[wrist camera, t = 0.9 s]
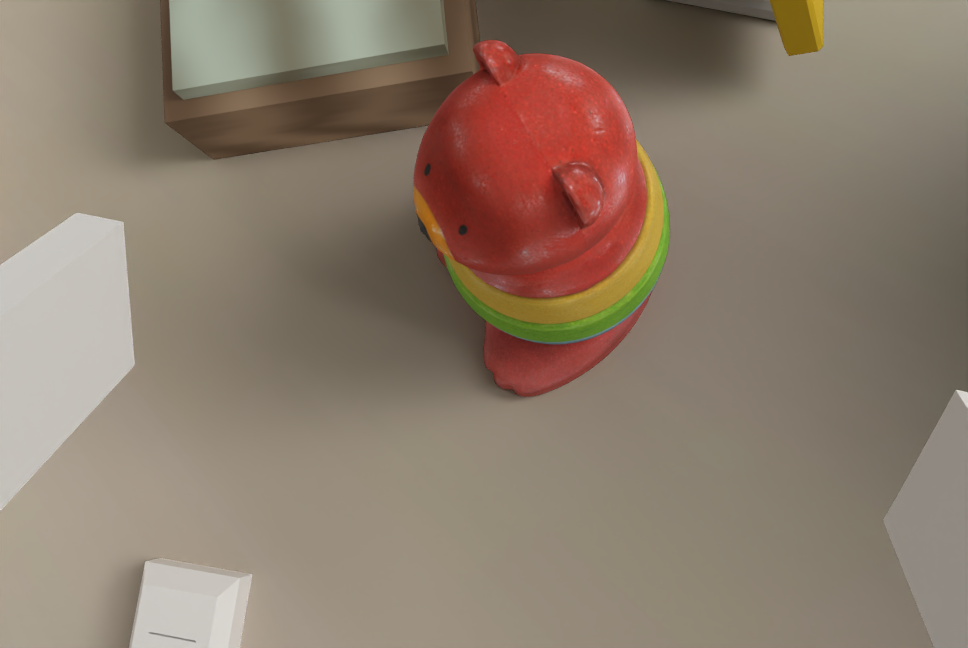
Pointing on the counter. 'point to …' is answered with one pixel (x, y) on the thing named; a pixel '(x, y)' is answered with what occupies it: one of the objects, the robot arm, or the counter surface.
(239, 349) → the counter surface
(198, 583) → the white beveled block
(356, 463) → the counter surface
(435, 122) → the stacking bear
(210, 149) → the plinth
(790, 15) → the toy computer monitor
